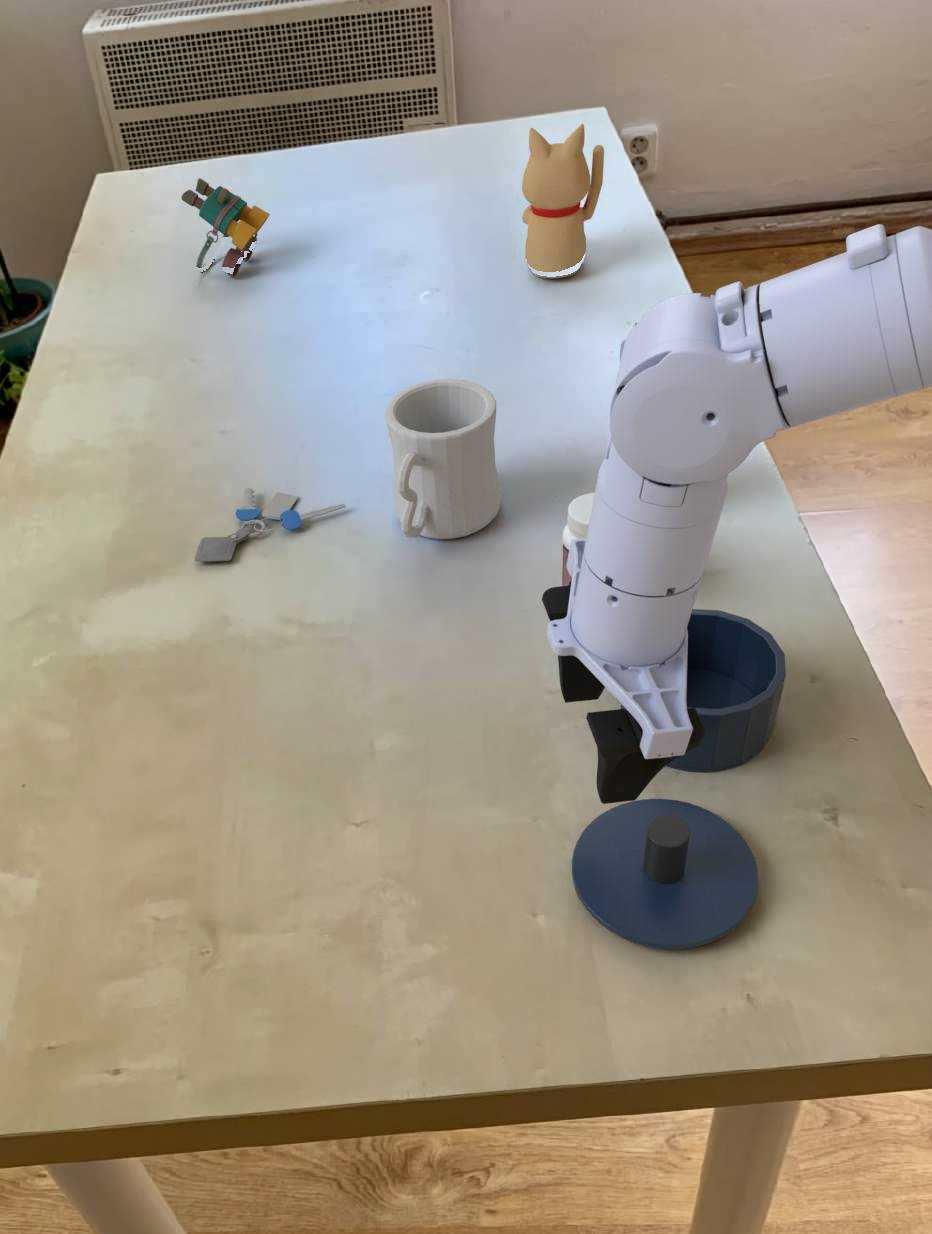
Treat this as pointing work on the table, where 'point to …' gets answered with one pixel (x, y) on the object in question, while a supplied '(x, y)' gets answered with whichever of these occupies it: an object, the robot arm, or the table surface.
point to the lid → (664, 873)
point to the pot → (730, 689)
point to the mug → (444, 458)
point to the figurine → (559, 200)
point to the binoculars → (226, 221)
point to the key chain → (276, 510)
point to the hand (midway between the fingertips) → (598, 745)
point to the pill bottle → (575, 528)
